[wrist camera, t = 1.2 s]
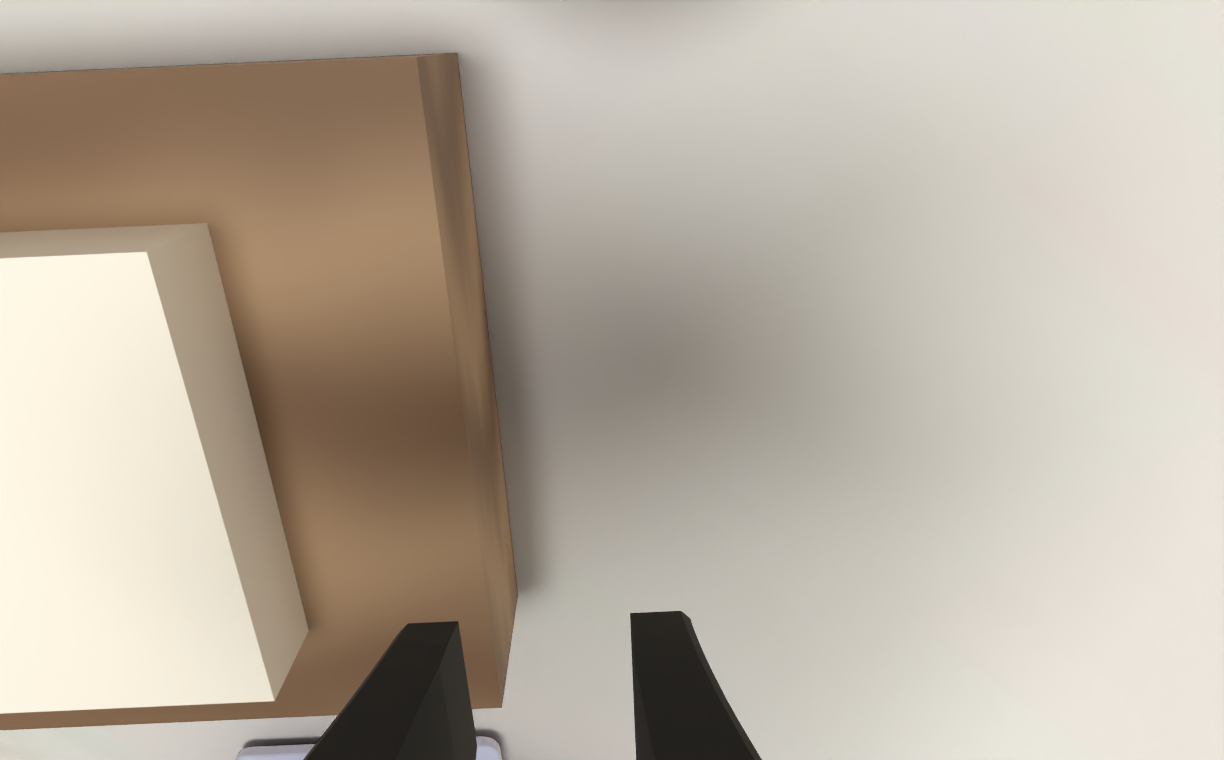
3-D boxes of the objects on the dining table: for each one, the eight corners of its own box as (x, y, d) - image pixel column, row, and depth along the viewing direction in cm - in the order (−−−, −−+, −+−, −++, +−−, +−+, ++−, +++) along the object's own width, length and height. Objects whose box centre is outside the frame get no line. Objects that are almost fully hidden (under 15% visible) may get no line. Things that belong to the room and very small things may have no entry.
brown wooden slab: (517, 595, 22) (501, 707, 18) (-126, 624, 22) (-272, 742, 18) (457, 52, 16) (416, 57, 13) (-408, 91, 16) (-699, 108, 13)
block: (308, 630, 17) (274, 701, 15) (36, 642, 17) (-31, 714, 15) (207, 223, 14) (146, 251, 12) (-138, 239, 14) (-252, 269, 12)
